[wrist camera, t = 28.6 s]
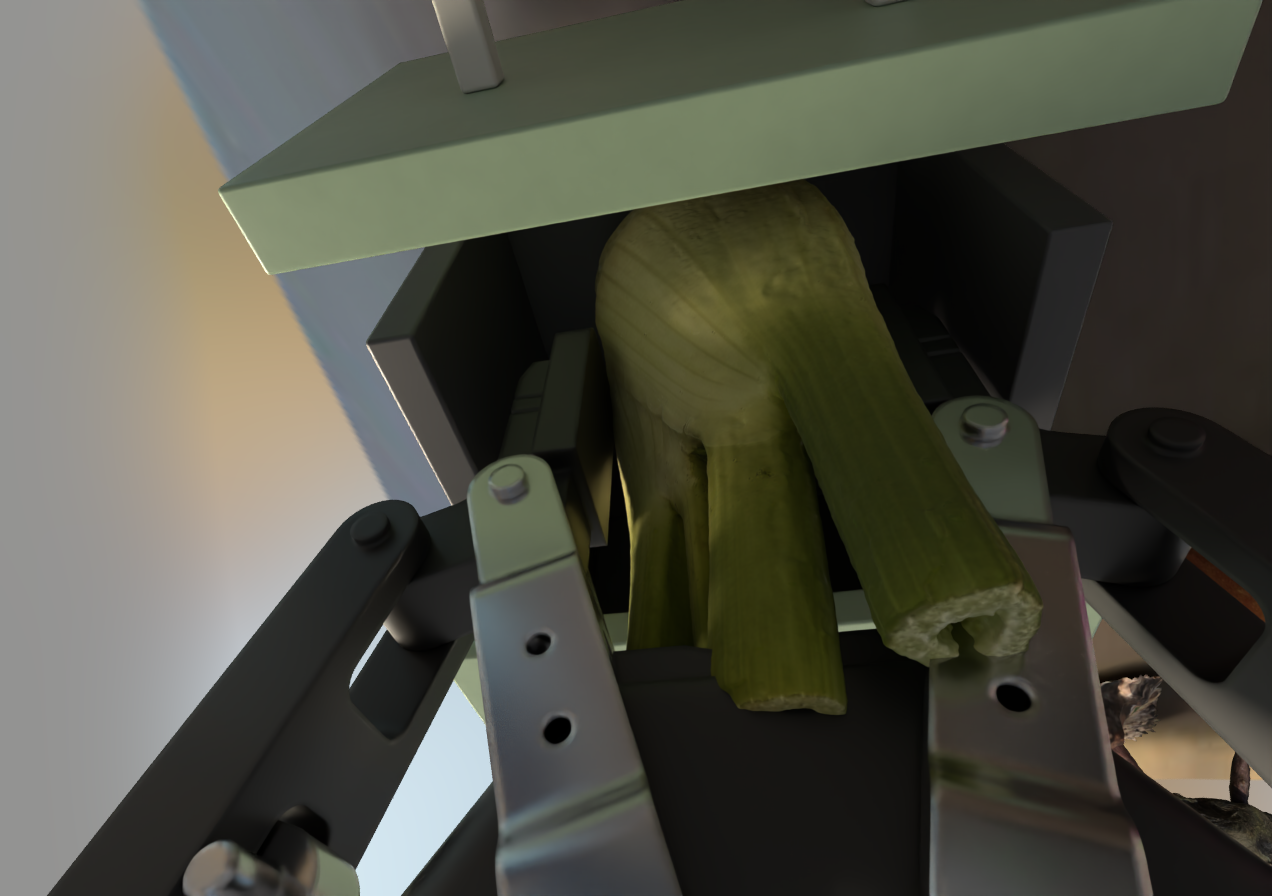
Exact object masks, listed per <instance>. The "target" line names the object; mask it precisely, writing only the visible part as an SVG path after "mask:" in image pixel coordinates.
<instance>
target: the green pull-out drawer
mask: <svg viewBox="0 0 1272 896" xmlns="http://www.w3.org/2000/svg"><path fill="white" fill-rule="evenodd" d="M1262 1H1263V0H682V1H677V2H673V3H668V4H664V5H659V6H655V7H650V8H646V9H641V10H637V11H632V12H628V13H623V14H619V15H614V16H610V17H605V18H601V19H596V20H592V21H587V22H583V23H578V24H574V25H569V26H565V27H560V28H556V29H551V30H547V31H542V32H538V33H533V34H529V35H524V36H519V37H515V38H510V39H506V40H501V41H497V42H495V41H494V38H493V34H492V31H491V27H490V24H489V20H488V17H487V13H486V10H485V6H484V2H483V0H432V3H433V6H434V9H435V12H436V15H437V18H438V21H439V24H440V27H441V30H442V33H443V37H444V40H445V43H446V46H447V49H448V52H447V53H443V54H438V55H434V56H429V57H425V58H420V59H416V60H411V61H407V62H402V63H399V64H398V65H396V66H395V67H393V68H392V69H391V70H389V71H388V72H386V73H385V74H383V75H382V76H380V77H379V78H378V79H376V80H375V81H373V82H372V83H370V84H369V85H367V86H366V87H365V88H363V89H362V90H360V91H359V92H357V93H356V94H354V95H353V96H352V97H350V98H349V99H347V100H346V101H344V102H343V103H341V104H340V105H339V106H337V107H336V108H334V109H333V110H331V111H330V112H328V113H327V114H325V115H324V116H323V117H321V118H320V119H318V120H317V121H315V122H314V123H312V124H311V125H310V126H308V127H307V128H305V129H304V130H302V131H301V132H299V133H298V134H297V135H295V136H294V137H292V138H291V139H289V140H288V141H286V142H285V143H284V144H282V145H281V146H279V147H278V148H276V149H275V150H273V151H272V152H271V153H269V154H268V155H266V156H265V157H263V158H262V159H260V160H259V161H258V162H256V163H255V164H253V165H252V166H250V167H249V168H247V169H246V170H244V171H243V172H242V173H240V174H239V175H237V176H236V177H234V178H233V179H231V180H230V181H229V182H227V183H226V184H224V185H223V186H221V188H219V190H218V192H219V195H220V197H221V198H222V200H223V202H224V203H225V205H226V207H227V208H228V210H229V212H230V213H231V215H232V217H233V218H234V220H235V222H236V223H237V225H238V227H239V228H240V230H241V232H242V233H243V235H244V237H245V238H246V240H247V242H248V243H249V245H250V247H251V248H252V250H253V251H254V253H255V255H256V257H257V258H258V260H259V262H260V263H261V265H262V266H263V268H264V270H265V271H266V273H268V274H271V275H272V274H278V273H284V272H289V271H295V270H300V269H306V268H311V267H317V266H322V265H328V264H333V263H339V262H344V261H350V260H356V259H361V258H367V257H372V256H378V255H383V254H389V253H394V252H400V251H405V250H411V249H417V248H422V247H425V249H424V250H423V252H422V253H421V255H420V256H419V258H418V260H417V261H416V263H415V264H414V266H413V268H412V269H411V271H410V272H409V274H408V276H407V277H406V279H405V280H404V282H403V284H402V285H401V287H400V288H399V290H398V292H397V293H396V295H395V296H394V298H393V299H392V301H391V303H390V304H389V306H388V307H387V309H386V311H385V312H384V314H383V315H382V317H381V319H380V320H379V322H378V323H377V325H376V327H375V328H374V330H373V331H372V333H371V335H370V336H369V338H368V339H367V341H366V345H367V348H368V350H369V352H370V353H371V355H372V357H373V359H374V361H375V363H376V365H377V367H378V368H379V370H380V372H381V374H382V376H383V378H384V380H385V382H386V383H387V385H388V387H389V389H390V391H391V393H392V395H393V396H394V398H395V400H396V402H397V404H398V406H399V408H400V410H401V411H402V413H403V415H404V417H405V419H406V421H407V423H408V425H409V426H410V428H411V430H412V432H413V434H414V436H415V438H416V440H417V441H418V443H419V445H420V447H421V449H422V451H423V453H424V455H425V456H426V458H427V460H428V462H429V464H430V466H431V468H432V470H433V471H434V473H435V475H436V477H437V479H438V481H439V483H440V485H441V486H442V488H443V490H444V492H445V494H446V496H447V498H448V499H449V501H450V503H451V505H455V504H457V503H459V502H461V501H463V500H465V499H467V490H468V487H469V485H470V483H471V481H472V480H473V478H474V477H475V476H476V475H477V474H478V473H479V472H480V471H481V470H482V469H484V468H485V467H486V466H488V465H489V464H491V463H493V462H495V461H497V460H498V457H499V453H500V450H501V446H502V442H503V438H504V434H505V430H506V427H507V423H508V419H509V415H510V414H511V408H512V404H513V400H515V397H514V396H515V392H516V389H517V385H518V381H519V379H520V377H521V376H522V375H523V374H524V373H525V371H526V370H527V369H528V368H529V367H530V365H531V364H532V363H533V362H538V361H544V360H549V359H550V354H551V349H552V345H553V340H554V336H555V334H556V333H560V332H566V331H573V330H579V329H586V328H593V329H594V330H595V332H596V335H597V339H598V342H599V346H600V350H601V354H602V358H603V362H604V365H605V369H606V361H605V356H604V349H603V346H602V341H601V338H600V336H599V334H598V330H597V327H596V323H595V316H596V314H595V310H596V306H595V302H596V292H595V280H596V274H597V271H598V267H599V260H600V256H601V254H602V251H603V249H604V246H605V244H606V242H607V241H608V239H609V238H610V236H611V235H612V234H613V232H614V231H615V230H616V228H617V227H618V226H619V224H620V223H621V222H622V221H623V219H624V218H625V217H626V216H627V215H628V214H629V213H631V212H632V211H633V210H634V209H638V208H644V207H649V206H655V205H660V204H666V203H671V202H677V201H683V200H688V199H694V198H699V197H705V196H710V195H716V194H721V193H727V192H732V191H738V190H743V189H749V188H755V187H760V186H766V185H771V184H777V183H782V182H788V181H793V180H799V179H804V180H806V181H808V182H809V183H810V184H813V185H814V186H816V187H817V188H818V189H819V190H820V191H821V193H822V194H823V195H824V196H825V197H826V198H827V200H828V201H829V202H830V204H831V205H833V206H834V207H835V209H836V210H837V212H838V213H839V214H840V216H841V217H842V219H843V221H844V222H845V224H846V226H847V228H848V231H849V232H850V233H851V235H852V236H853V238H854V244H855V246H856V249H857V250H858V252H859V255H860V259H861V262H862V264H863V267H864V269H865V277H866V278H867V281H868V284H869V285H872V284H879V283H885V284H886V285H887V287H888V288H889V290H890V292H891V293H892V295H893V297H894V298H895V300H896V302H897V304H898V305H899V307H900V308H902V307H908V306H915V305H918V306H919V307H921V308H923V309H925V310H926V311H928V312H930V313H931V314H933V315H935V316H936V317H938V318H939V319H940V320H941V322H942V323H943V325H944V326H945V328H946V329H947V331H948V332H949V334H950V338H953V340H954V341H955V343H956V344H957V346H958V347H959V351H960V352H962V353H963V355H964V356H965V358H966V359H967V361H968V362H969V364H970V365H971V367H972V368H973V370H974V371H975V373H976V374H977V376H978V377H979V379H980V380H981V382H982V383H983V385H984V386H985V388H986V389H987V391H988V392H989V394H990V395H991V397H995V398H1000V399H1003V400H1007V401H1010V402H1012V403H1014V404H1017V405H1018V406H1020V407H1022V408H1024V409H1025V410H1026V411H1028V412H1029V413H1030V414H1031V415H1032V416H1033V417H1034V418H1035V420H1036V422H1037V423H1038V427H1039V428H1040V429H1044V430H1049V431H1051V428H1052V424H1053V421H1054V418H1055V415H1056V411H1057V408H1058V405H1059V401H1060V398H1061V395H1062V391H1063V388H1064V385H1065V382H1066V378H1067V375H1068V372H1069V368H1070V365H1071V362H1072V358H1073V355H1074V352H1075V349H1076V345H1077V342H1078V339H1079V335H1080V332H1081V329H1082V325H1083V322H1084V319H1085V316H1086V312H1087V309H1088V306H1089V302H1090V299H1091V296H1092V292H1093V289H1094V286H1095V283H1096V279H1097V276H1098V273H1099V269H1100V266H1101V263H1102V259H1103V256H1104V253H1105V250H1106V246H1107V243H1108V240H1109V236H1110V233H1111V230H1112V226H1113V221H1112V220H1111V219H1109V218H1108V217H1106V216H1105V215H1104V214H1102V213H1101V212H1099V211H1098V210H1097V209H1095V208H1094V207H1092V206H1091V205H1090V204H1088V203H1087V202H1085V201H1084V200H1083V199H1081V198H1080V197H1078V196H1077V195H1076V194H1074V193H1073V192H1071V191H1070V190H1068V189H1067V188H1066V187H1064V186H1063V185H1061V184H1060V183H1059V182H1057V181H1056V180H1054V179H1053V178H1052V177H1050V176H1049V175H1047V174H1046V173H1045V172H1043V171H1042V170H1040V169H1039V168H1038V167H1036V166H1035V165H1033V164H1032V163H1031V162H1029V161H1028V160H1026V159H1025V158H1024V157H1022V156H1021V155H1019V154H1018V153H1016V152H1015V151H1014V150H1012V149H1011V148H1009V147H1008V146H1007V145H1005V144H1004V142H1009V141H1015V140H1021V139H1026V138H1032V137H1037V136H1043V135H1048V134H1054V133H1059V132H1065V131H1070V130H1076V129H1082V128H1087V127H1093V126H1098V125H1104V124H1109V123H1115V122H1120V121H1126V120H1131V119H1137V118H1142V117H1148V116H1154V115H1159V114H1165V113H1170V112H1176V111H1181V110H1187V109H1192V108H1198V107H1203V106H1209V105H1215V104H1219V103H1222V102H1224V100H1225V99H1226V98H1227V95H1228V93H1229V90H1230V87H1231V85H1232V82H1233V79H1234V76H1235V74H1236V71H1237V68H1238V66H1239V63H1240V60H1241V58H1242V55H1243V52H1244V50H1245V47H1246V44H1247V41H1248V39H1249V36H1250V33H1251V31H1252V28H1253V25H1254V23H1255V20H1256V17H1257V15H1258V12H1259V9H1260V6H1261V4H1262ZM606 373H607V370H606ZM814 474H815V473H814ZM815 483H816V491H817V497H818V500H819V512H820V516H821V520H822V526H823V532H824V540H825V546H826V554H827V560H828V569H829V576H830V582H831V588H832V591H833V592H839V591H849V590H860V589H862V586H861V584H860V580H859V578H858V575H857V572H856V570H855V569H854V568H853V566H852V564H851V562H850V558H849V555H848V553H847V551H846V548H845V545H844V543H843V541H842V539H841V538H840V535H839V532H838V530H837V527H836V525H835V523H834V521H833V519H832V517H831V512H830V510H829V507H828V504H827V502H826V500H825V497H824V494H823V491H822V489H821V488H820V487H819V483H818V479H817V478H816V476H815ZM630 549H631V544H630V531H629V526H628V519H627V510H626V503H625V497H624V492H623V487H622V482H621V478H620V472H619V468H618V462H617V455H616V448H615V442H614V447H613V463H612V479H611V495H610V511H609V527H608V543H607V546H599V547H590V552H589V563H588V570H589V573H590V576H591V578H592V581H593V585H594V588H595V591H596V594H597V597H598V600H599V603H600V606H601V609H602V612H603V614H612V613H622V612H629V603H630V601H629V599H630V585H631V581H630V580H631V574H630V572H631V559H630V557H631V555H630Z"/></svg>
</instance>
